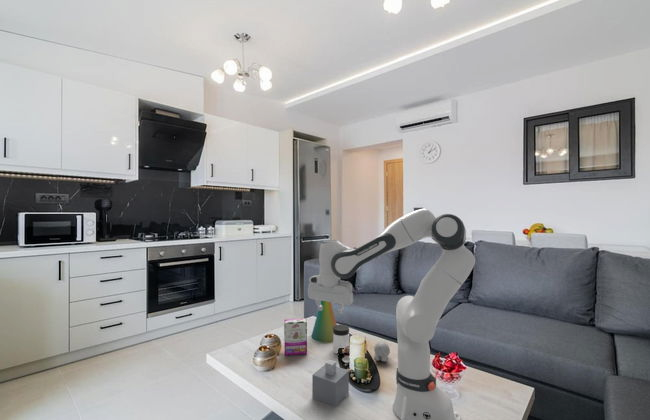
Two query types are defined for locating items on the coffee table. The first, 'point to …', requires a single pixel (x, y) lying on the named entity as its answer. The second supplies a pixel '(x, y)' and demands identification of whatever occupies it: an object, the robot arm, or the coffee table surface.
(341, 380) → the grey faceted cube
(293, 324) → the candy bar box
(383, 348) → the chubby cartoon animal
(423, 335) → the robot arm
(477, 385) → the coffee table surface
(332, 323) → the decorative cone
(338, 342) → the jar
